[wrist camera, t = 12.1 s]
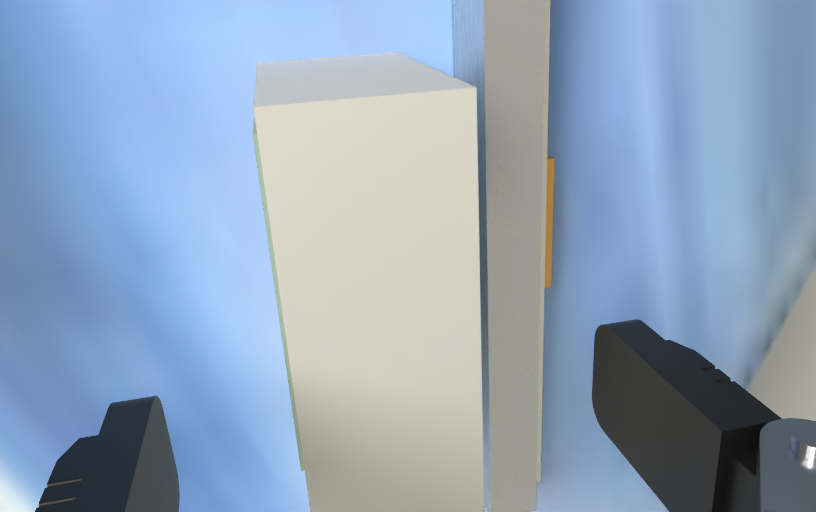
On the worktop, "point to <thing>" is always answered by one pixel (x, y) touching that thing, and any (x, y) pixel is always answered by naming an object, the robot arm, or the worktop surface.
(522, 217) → the rail
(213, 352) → the worktop surface
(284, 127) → the product carton
